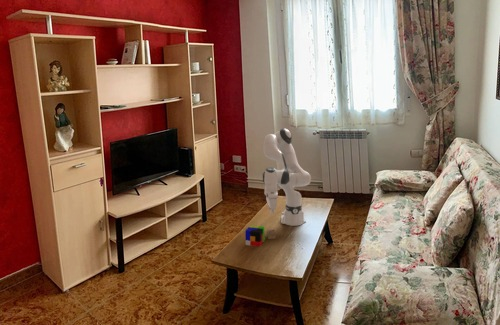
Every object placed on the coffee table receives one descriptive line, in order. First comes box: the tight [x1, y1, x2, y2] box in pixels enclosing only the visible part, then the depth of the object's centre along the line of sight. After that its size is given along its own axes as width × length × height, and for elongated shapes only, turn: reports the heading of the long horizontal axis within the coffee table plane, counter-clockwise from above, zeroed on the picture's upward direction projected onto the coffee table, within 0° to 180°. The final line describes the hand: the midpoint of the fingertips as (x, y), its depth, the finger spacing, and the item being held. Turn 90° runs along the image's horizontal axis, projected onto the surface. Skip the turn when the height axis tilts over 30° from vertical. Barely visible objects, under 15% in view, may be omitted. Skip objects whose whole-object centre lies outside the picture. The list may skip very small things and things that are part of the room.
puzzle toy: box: [244, 224, 265, 247], centre depth 277 cm, size 10×10×10 cm
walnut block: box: [266, 228, 276, 240], centre depth 286 cm, size 5×5×5 cm
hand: (271, 211), depth 282 cm, fingers open, 8 cm apart
